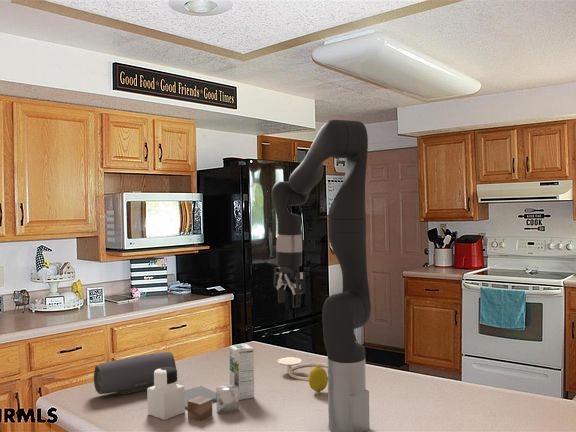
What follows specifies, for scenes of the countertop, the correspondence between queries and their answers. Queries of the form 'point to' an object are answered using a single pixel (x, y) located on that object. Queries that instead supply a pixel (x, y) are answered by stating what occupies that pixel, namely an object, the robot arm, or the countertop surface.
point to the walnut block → (199, 408)
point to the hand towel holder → (297, 366)
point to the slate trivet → (199, 394)
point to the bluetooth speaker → (130, 373)
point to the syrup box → (242, 369)
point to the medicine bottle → (166, 394)
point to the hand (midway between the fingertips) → (288, 304)
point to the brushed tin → (227, 399)
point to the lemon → (318, 379)
